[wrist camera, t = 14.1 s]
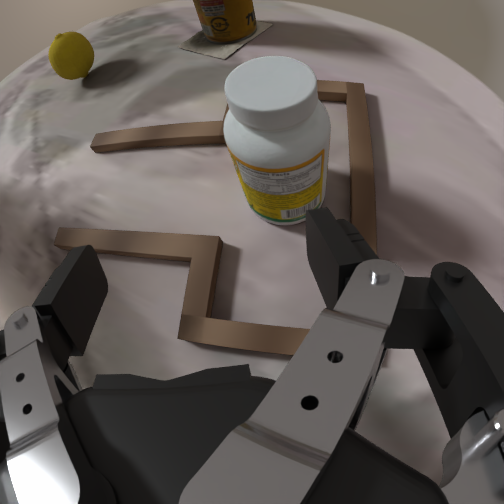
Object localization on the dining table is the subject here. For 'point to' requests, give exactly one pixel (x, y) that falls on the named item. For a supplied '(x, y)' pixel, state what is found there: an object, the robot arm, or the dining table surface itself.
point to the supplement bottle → (278, 137)
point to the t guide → (209, 247)
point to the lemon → (71, 55)
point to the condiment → (224, 27)
